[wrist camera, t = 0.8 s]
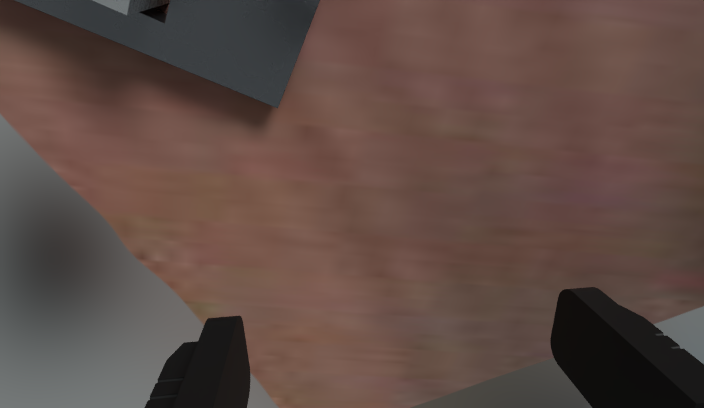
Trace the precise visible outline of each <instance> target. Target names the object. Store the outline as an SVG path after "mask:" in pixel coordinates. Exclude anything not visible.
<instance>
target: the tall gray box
mask: <svg viewBox="0 0 704 408" xmlns="http://www.w3.org/2000/svg"><path fill="white" fill-rule="evenodd" d="M93 1H95V2H97V3H100V4H102V5H104V6H106V7H109V8H111V9H113V10H116V11H118V12H120V13H123V14H125V15H130V14H133V13H137V12H140V11H144V10H147V9H151V8H154V7H158V6H161V5H165V4H168V3H169V0H93Z"/></svg>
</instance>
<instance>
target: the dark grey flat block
mask: <svg viewBox="0 0 704 408" xmlns="http://www.w3.org/2000/svg"><path fill="white" fill-rule="evenodd" d="M15 1H17V2H20V3H22V4H25V5H27V6H30V7H32V8H34V9H37V10H39V11H42V12H44V13H47V14H49V15H52V16H54V17H56V18H59V19H61V20H64V21H66V22H69V23H71V24H73V25H76V26H78V27H81V28H83V29H86V30H88V31H91V32H93V33H95V34H98V35H100V36H103V37H105V38H108V39H110V40H112V41H115V42H117V43H120V44H122V45H125V46H127V47H130V48H132V49H134V50H137V51H139V52H142V53H144V54H147V55H149V56H152V57H154V58H156V59H159V60H161V61H164V62H166V63H169V64H171V65H173V66H176V67H178V68H181V69H183V70H186V71H188V72H191V73H193V74H195V75H198V76H200V77H203V78H205V79H208V80H210V81H212V82H215V83H217V84H220V85H222V86H225V87H227V88H230V89H232V90H234V91H237V92H239V93H242V94H244V95H247V96H249V97H252V98H254V99H256V100H259V101H261V102H264V103H266V104H269V105H271V106H273V107H276V108H278V106H279V104H280V101H281V98H282V96H283V93H284V91H285V88H286V86H287V83H288V80H289V78H290V75H291V73H292V70H293V68H294V65H295V63H296V60H297V57H298V55H299V52H300V50H301V47H302V45H303V42H304V40H305V37H306V34H307V32H308V29H309V27H310V24H311V22H312V19H313V16H314V14H315V11H316V9H317V6H318V4H319V1H320V0H170V3H169V7H168V12H167V14H166V13H163V12H161V11H159V10H157V9H154V8H151V9H147V10H144V11H140V12H137V13H133V14H130V15H125V14H123V13H120V12H118V11H116V10H113V9H111V8H109V7H106V6H104V5H102V4H100V3H97V2H95V1H93V0H15Z"/></svg>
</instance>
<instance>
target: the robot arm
mask: <svg viewBox="0 0 704 408" xmlns="http://www.w3.org/2000/svg"><path fill="white" fill-rule="evenodd" d="M551 349H552V353H553V356H554V358H555V360H556V362H557V364H558V365H559V366H560V368H561V369H562V370H563V371H564V373H565V374H566V375H567V376H568V378H569V379H570V380H571V381H572V383H573V384H574V385H575V386H576V388H577V389H578V390H579V391H580V393H581V394H582V395H583V396H584V398H585V399H586V400H587V401H588V403H589V404H590V405H591V406H592V408H704V364H702V363H701V362H700V361H699V360H697V359H696V358H695V357H694V356H692V355H691V354H690V353H688V352H687V351H686V350H685V349H680V347H679V345H678V344H677V343H676V342H674V341H673V340H672V339H671V338H669V337H668V336H664V335H663V332H662V331H661V330H659V329H658V328H656V327H655V326H654V325H653V324H652V323H650V322H649V321H648V320H647V319H645V318H644V317H642V316H640V315H638V314H636V313H634V312H632V311H630V310H628V309H626V308H624V307H622V306H620V305H618V304H617V303H616V302H614V301H613V300H612V299H611V298H609V297H608V296H607V295H606V294H604V293H603V292H602V291H601V290H599V289H598V288H595V287H588V288H576V289H565V290H563V291H561V293H560V294H559V297H558V302H557V307H556V312H555V318H554V323H553V328H552V334H551ZM249 391H250V366H249V359H248V353H247V346H246V339H245V333H244V326H243V321H242V318H241V316H231V317H219V318H208V319H207V321H206V323H205V325H204V328H203V330H202V333H201V336H200V338H199V341H198V342H187V343H183V344H182V345H181V346H180V347H179V348H178V349H177V350H176V351H175V352H174V353H173V354H172V355H171V356H170V357H169V358H168V360H167V361H166V363H165V365H164V367H163V369H162V372H161V374H160V376H159V378H158V383H156V384H155V387H154V389H153V391H152V393H151V395H150V400H149V401H148V402H147V404H146V406H145V408H247V404H248V398H249Z"/></svg>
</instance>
